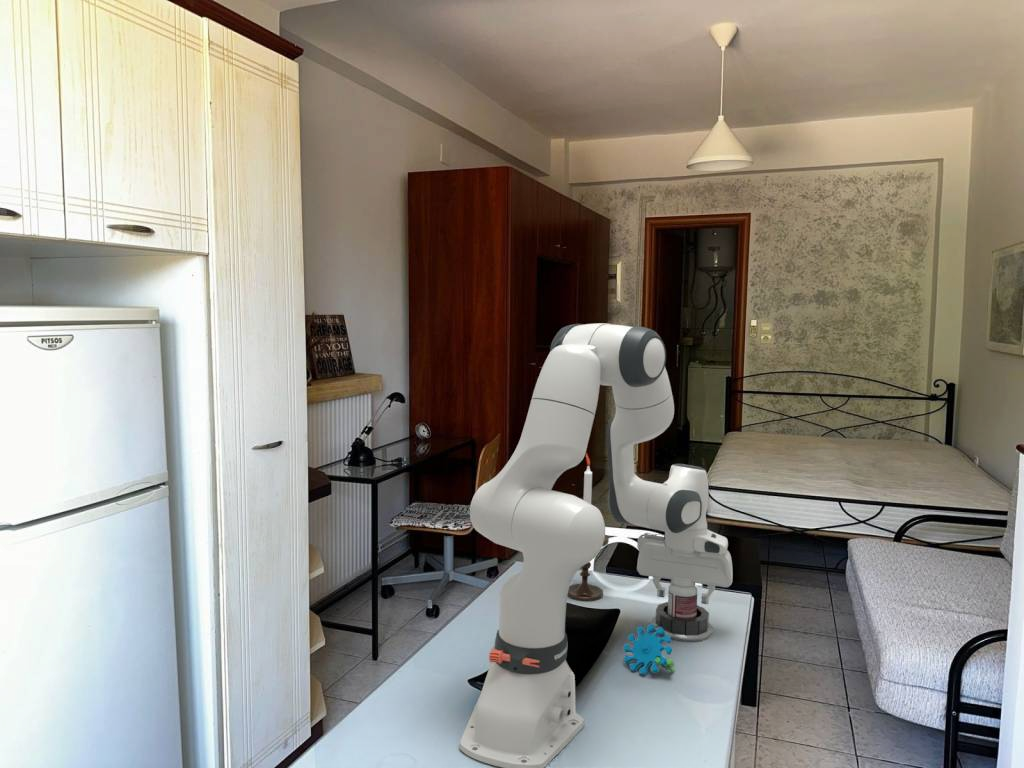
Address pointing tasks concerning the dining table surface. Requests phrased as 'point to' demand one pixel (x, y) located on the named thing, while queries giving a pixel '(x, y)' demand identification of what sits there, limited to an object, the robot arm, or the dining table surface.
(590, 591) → the candlestick
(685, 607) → the pill bottle
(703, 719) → the dining table surface
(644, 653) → the gear
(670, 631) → the notched hollow ring
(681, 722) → the dining table surface
